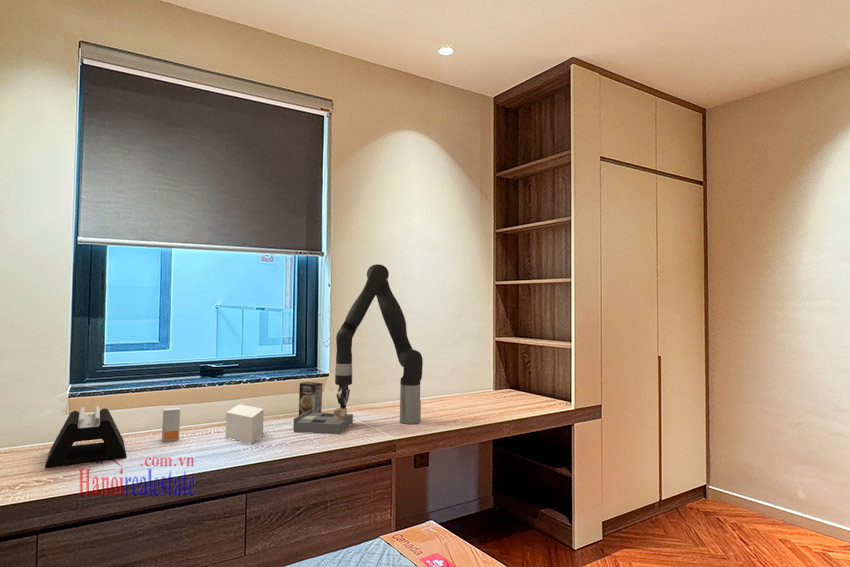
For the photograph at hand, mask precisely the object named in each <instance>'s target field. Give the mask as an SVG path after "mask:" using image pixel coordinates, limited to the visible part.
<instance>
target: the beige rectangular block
mask: <svg viewBox="0 0 850 567" xmlns="http://www.w3.org/2000/svg"><path fill="white" fill-rule="evenodd" d="M264 410H265V409H264V408H260V407H254V406H249V405H245V404H240V403H239V404H237V405H235V406H234V407H232V408H231V409H229V410H228V411H226V414H225V438H226V439H229V438H231V439H230V440H232V439H235V440H234V441H236V440H239V441H238V442H240V441H242V442H241V443H244V442H246V443H245V444H248V443H251V444H250V445H253V444H254V443H255V442H256V441H257V440H258V439H259V438H260V437H261V436H262V435H263V434H264V413H265V412H264ZM262 433H263V434H262ZM261 434H262V435H261ZM260 435H261V436H260ZM259 436H260V437H259ZM258 437H259V438H258ZM257 438H258V439H257ZM256 439H257V440H256ZM255 440H256V441H255ZM254 441H255V442H254ZM253 442H254V443H253ZM252 443H253V444H252Z"/></svg>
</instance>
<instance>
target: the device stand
mask: <svg viewBox="0 0 850 567" xmlns="http://www.w3.org/2000/svg"><path fill="white" fill-rule="evenodd" d="M100 408H101V406H100V405H96V406H94V413H89V414H88V413H87V414H86V413H85V412H86V407H84V406H81V407H80V408H79V411H77V410H73V411H71V412H70V413H69V415H68V416H67V419H66V420H65V422H64V424H63V426H62V427H61V429H60V431H59V433H58V435H57V437H56V438H55V440H54V442H53V444H52V445H51V447H50V450H49V454H48V455H47V456H48V457H47V460H46V463H45V467H44V468H45V469H53V468H54V469H55V468H60V467H68V466H77V465H84V464H93V463H99V462H108V461H115V460H122V459H126V458H127V457H128V456H127V451H126V444H125V441H124V438H123V437H122V435H121V432H120V430H119V428H118V426H117V424H116V421H115V420H114V418H113V417H112V413H111V412H110V410H109V409H108V408H101V409H100ZM95 440H97V441H98V440H102V442H101V441H100V442H92V443H85V444H74V443H79V442H86V441H95Z"/></svg>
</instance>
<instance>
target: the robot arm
mask: <svg viewBox="0 0 850 567" xmlns="http://www.w3.org/2000/svg"><path fill="white" fill-rule="evenodd" d="M389 275H390V273H389V270H388V268H387V267H386V266H385V265H383V264H376V263H375V264H373V265H370V266H369V267H368V269H367V272H366V278H367V280H366V282H365V285H364V286H363V289H362V290H361V293H360V294H359V295H358V297H357V298H356V299H355V301H354V302H353V304H352V305H351V307H350V309H349V310H348V312H347V315H346V316H345V319H344V322H343V323H342V325H341V326H340V328H339V330H338V332H337V333H336V345H335V346H336V354H335V369H334V370H335V371H334V381H335V382H334V383H335V385H337V386H338V388H337V393H336V398H337V402H338V405H339V408H347V404H348V401H349V399H350V392H351V390H350V388H349V386H351V385H352V384H353V353H352V348H353V338H354V336H355V333H356V331H357V329H358V328H359V326H361V323H362V321H363V319H364V317H365V316H366V314H367V312H368V310H369V308H370V306H371V304H372V302H373V301H374V299H375V297H376V299H377V302H378V306H379V309H380V312H381V315H382V318H383V321H384V324H385V326H386V328H387V331H388V333H389V335H390V338H391V340H392V342H393V344H394V345H393V346H394V348H395V353H396V355H397V360H398V363H399V364H400V366H401V367H402V368H403V372H402V377H401V378H400V384H399V386H400V390H399V395H400V396H399V422H400V423H401V424H406V425H411V424H412V425H417V424H420V422H421V418H422V416H421V414H422V412H421V411H422V410H421V409H422V400H421V381H422V378H423V367H424V366H423V362H424V361H423V356H422V354H421V352H420V351H418V350H416V349H413V346H412V345H411V343H410V341H409V336H408V330H407V322H406V317H405V315H404V312H403V309H402V307H401V305H400V304H399V302H398V300H397V298H396V297H395V295H394V293H393V292H392V289H391V287H390V284H389Z"/></svg>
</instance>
